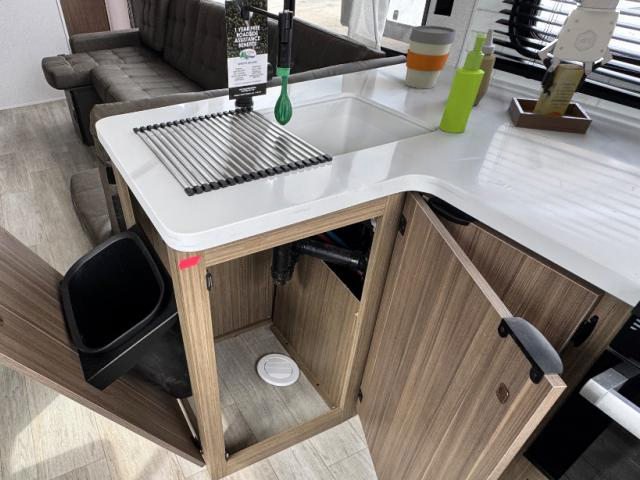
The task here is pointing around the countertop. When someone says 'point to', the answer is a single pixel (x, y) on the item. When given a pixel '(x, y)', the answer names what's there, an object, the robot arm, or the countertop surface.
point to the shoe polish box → (559, 90)
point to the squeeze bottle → (486, 65)
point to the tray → (548, 117)
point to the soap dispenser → (464, 90)
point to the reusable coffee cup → (427, 54)
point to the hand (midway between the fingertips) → (559, 89)
